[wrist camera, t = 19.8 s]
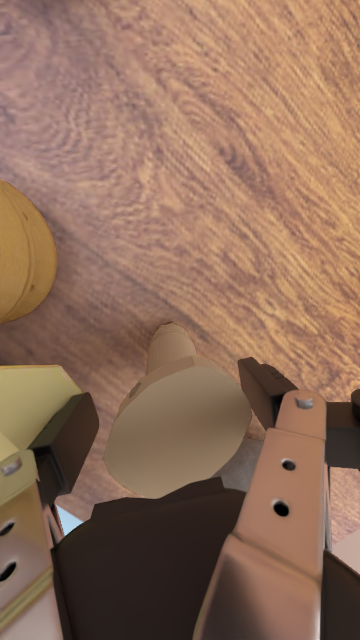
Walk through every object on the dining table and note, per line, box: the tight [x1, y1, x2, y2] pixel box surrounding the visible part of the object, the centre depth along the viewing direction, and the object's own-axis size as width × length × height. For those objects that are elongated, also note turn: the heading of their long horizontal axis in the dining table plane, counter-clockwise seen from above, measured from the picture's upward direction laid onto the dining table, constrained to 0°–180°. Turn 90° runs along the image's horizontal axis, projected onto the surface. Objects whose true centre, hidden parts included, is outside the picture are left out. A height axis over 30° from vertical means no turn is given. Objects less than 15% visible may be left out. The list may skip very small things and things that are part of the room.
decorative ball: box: [209, 438, 263, 492], centre depth 22 cm, size 10×10×10 cm
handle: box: [103, 322, 252, 499], centre depth 16 cm, size 5×6×15 cm
